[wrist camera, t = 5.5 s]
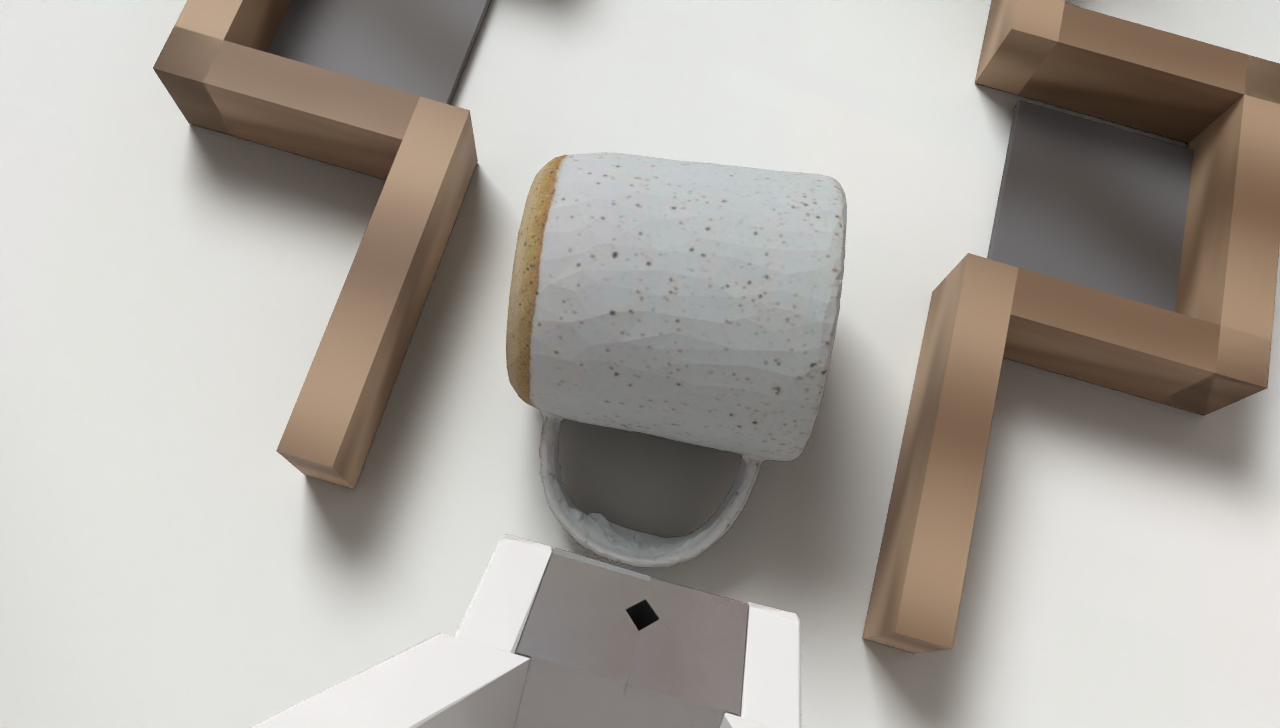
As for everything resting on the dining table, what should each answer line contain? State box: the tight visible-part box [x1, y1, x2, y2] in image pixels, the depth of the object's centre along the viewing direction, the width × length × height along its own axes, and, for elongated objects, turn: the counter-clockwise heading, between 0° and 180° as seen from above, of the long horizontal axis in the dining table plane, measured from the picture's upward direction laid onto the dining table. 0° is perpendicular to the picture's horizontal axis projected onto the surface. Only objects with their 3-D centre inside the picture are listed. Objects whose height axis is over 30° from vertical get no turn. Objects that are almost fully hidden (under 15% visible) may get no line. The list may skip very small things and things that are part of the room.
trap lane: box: [153, 0, 1280, 653], centre depth 32 cm, size 28×33×3 cm
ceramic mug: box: [506, 153, 847, 567], centre depth 27 cm, size 11×8×8 cm
